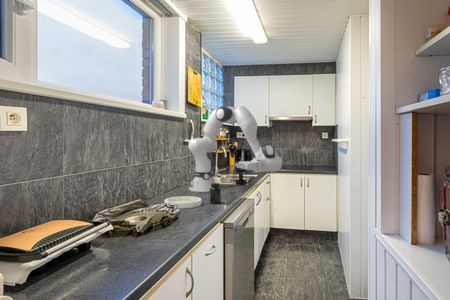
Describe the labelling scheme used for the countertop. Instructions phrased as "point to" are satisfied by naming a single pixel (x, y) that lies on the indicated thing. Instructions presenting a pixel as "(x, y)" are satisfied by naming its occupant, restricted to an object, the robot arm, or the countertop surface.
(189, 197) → the ceramic bowl
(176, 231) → the countertop surface
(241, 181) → the french press
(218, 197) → the supplement bottle
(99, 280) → the countertop surface
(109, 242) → the countertop surface
